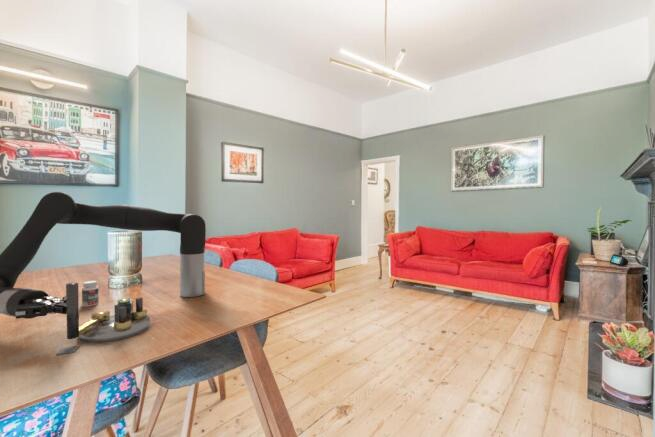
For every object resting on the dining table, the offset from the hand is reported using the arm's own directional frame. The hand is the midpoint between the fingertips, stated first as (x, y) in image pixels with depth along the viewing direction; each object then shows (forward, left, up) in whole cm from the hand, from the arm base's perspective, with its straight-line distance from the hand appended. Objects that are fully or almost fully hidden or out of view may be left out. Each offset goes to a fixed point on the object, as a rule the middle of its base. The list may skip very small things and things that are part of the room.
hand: (69, 309), depth 78 cm
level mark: (-1, +4, -9) cm, 10 cm away
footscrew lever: (-3, -5, -7) cm, 9 cm away
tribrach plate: (-9, -7, -9) cm, 15 cm away
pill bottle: (+4, -37, -10) cm, 38 cm away
